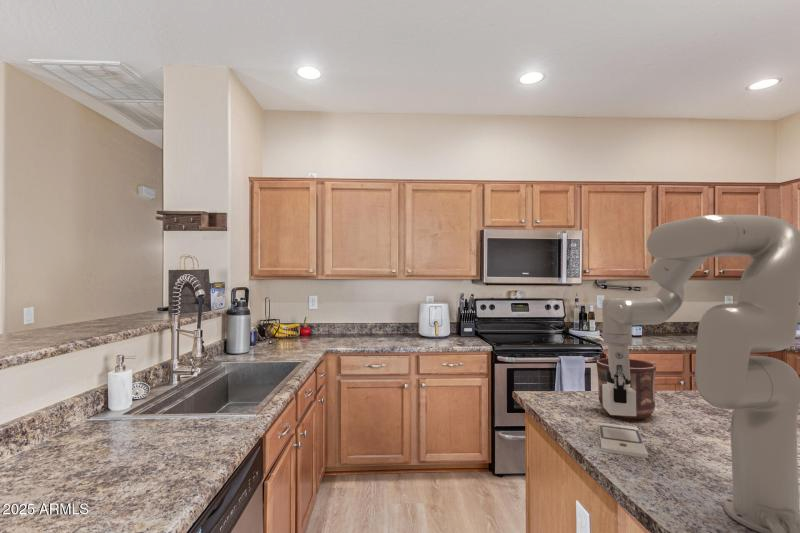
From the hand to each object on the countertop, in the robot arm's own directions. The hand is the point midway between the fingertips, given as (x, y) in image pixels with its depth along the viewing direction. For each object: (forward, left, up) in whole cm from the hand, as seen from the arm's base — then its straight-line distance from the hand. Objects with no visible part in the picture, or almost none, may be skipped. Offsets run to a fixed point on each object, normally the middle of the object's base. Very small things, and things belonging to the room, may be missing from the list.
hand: (618, 397), depth 116 cm
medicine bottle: (0, 0, -4) cm, 4 cm away
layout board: (-2, 0, -12) cm, 12 cm away
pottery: (+22, -4, -12) cm, 25 cm away
